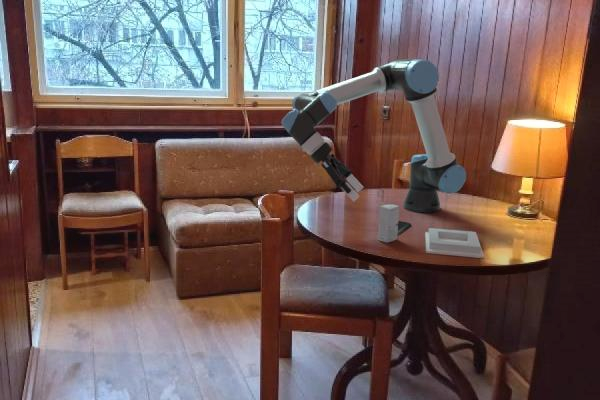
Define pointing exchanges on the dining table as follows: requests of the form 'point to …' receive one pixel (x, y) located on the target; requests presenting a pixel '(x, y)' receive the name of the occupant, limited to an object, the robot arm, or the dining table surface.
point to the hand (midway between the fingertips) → (358, 194)
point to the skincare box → (388, 223)
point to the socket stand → (453, 243)
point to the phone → (402, 226)
